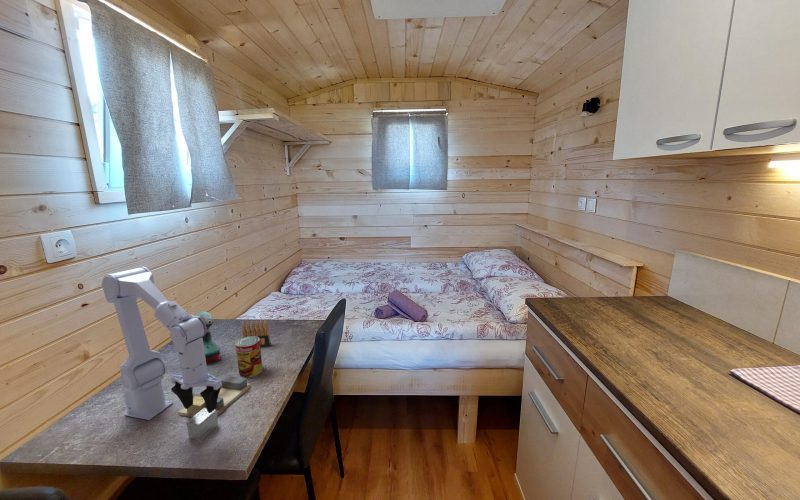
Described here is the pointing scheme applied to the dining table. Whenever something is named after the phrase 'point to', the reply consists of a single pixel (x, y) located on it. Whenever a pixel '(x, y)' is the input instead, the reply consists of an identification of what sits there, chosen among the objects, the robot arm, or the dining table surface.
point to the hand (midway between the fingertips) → (200, 408)
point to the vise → (226, 392)
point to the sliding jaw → (202, 404)
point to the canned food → (249, 356)
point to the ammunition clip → (257, 332)
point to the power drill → (209, 339)
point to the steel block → (202, 424)
